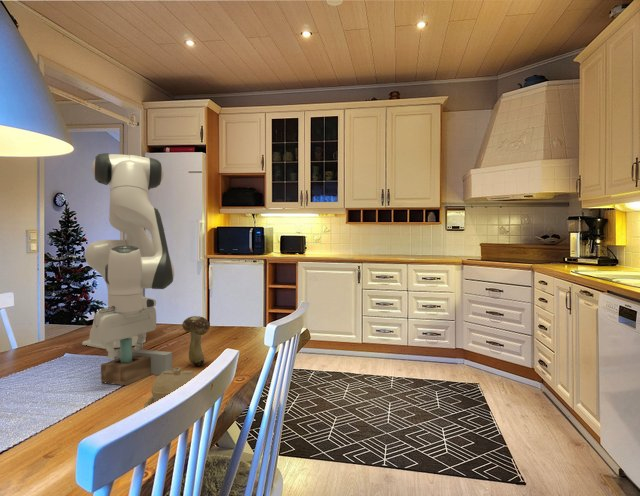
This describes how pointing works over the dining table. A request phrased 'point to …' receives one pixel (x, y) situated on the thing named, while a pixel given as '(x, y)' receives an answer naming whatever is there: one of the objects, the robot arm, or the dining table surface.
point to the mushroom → (196, 337)
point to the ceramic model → (168, 383)
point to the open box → (126, 370)
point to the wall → (154, 359)
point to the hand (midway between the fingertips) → (126, 353)
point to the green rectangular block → (126, 350)
